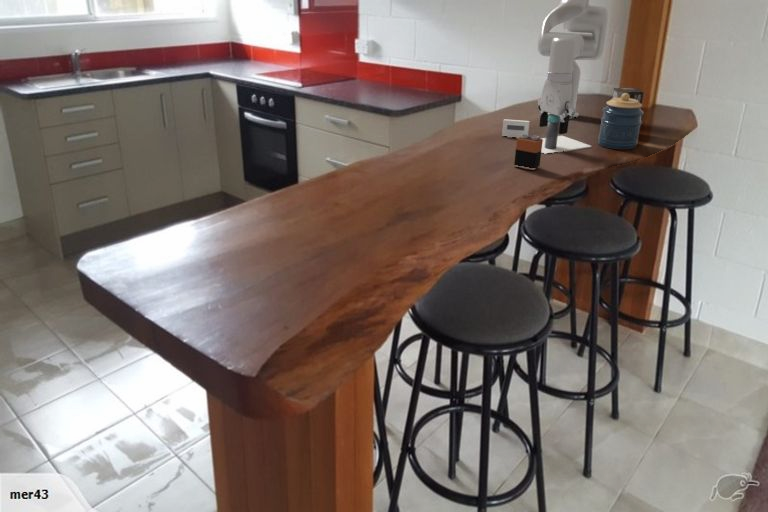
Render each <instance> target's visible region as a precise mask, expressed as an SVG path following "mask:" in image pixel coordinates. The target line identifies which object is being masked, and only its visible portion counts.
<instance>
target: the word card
mask: <svg viewBox="0 0 768 512" xmlns="http://www.w3.org/2000/svg"><path fill="white" fill-rule="evenodd" d="M529 127H530V120H522V119H521V120H519V119H506V118H505V119H503V121H502V133H501V137H502V136H507V137H506V138H512V137H516V138H515V139H517V138H519V137H521V136H522V135H527V136H528V137H529V131H530V130H529V129H530V128H529Z"/></svg>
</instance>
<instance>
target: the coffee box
mask: <svg viewBox="0 0 768 512" xmlns="http://www.w3.org/2000/svg"><path fill="white" fill-rule="evenodd" d="M624 93H628V94H629V96H630V98H631V99H635V100H638V102H639V103H641V104H642V105H643V98H644V91H643V89H641V88H637V87H614V88H613V93H612V98H611V99H613V98H621V96H622V94H624ZM640 109H641V110H642V107H640Z"/></svg>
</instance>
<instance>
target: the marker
mask: <svg viewBox="0 0 768 512" xmlns="http://www.w3.org/2000/svg"><path fill="white" fill-rule="evenodd" d="M560 122H561V119H560V116H559V115H553V114H548V124H547V126H546V133H545V138H546V140H545V148H547V149H556V146H557V138H558V136H559V133H558V132H559V124H560Z"/></svg>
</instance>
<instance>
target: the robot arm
mask: <svg viewBox="0 0 768 512" xmlns="http://www.w3.org/2000/svg"><path fill="white" fill-rule="evenodd" d="M558 3H559V4H558V5H557V6H556V7H555V8H553V9H552V10H551V11H550V12H549V13H548V14H547V15H546V16H545V18H544V19H543V22H542V23H541V25H540V26H541V27H540V31H539V36H538V41H537V52H538V54H539V55H541V56H543V57H549V60H548V61H549V62H548V70H547V76H546V77H547V79H546V80H545V82H544V84H543V89H542V92H541V97H540V98H539V99H537V104H538V110H539V115H540V117H539V127H540V128H543V127H547V124H548V114H553V115H559V116H560V123H559V131H558V135H564V134H565V135H566V134H567V133H568V130H569V123H570V122H571V120H572V119H575V118H574V117H576V118H578V117H579V116H580V115H579V114H580V113H579V112H578V111H576V107H577V100H578V94H579V86H580V79H581V68H580V67H579V65H578V63H577V62H576V61H578V60H579V61H597V60H599V59H600V58H601V57H602V55H603V52H604V48H605V43H606V42H605V41H606V35H607V28H608V19H609V18H608V17H609V14H608V9H607V8H606V7H605V6H604V5H603V6H602V5H590V4H589V3H590V0H559V2H558ZM560 24H562V27H563V29H564V30H565V31H566V32H553V31H552V29H553V28H554V27H556V26H558V25H560ZM551 31H552V32H551Z"/></svg>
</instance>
